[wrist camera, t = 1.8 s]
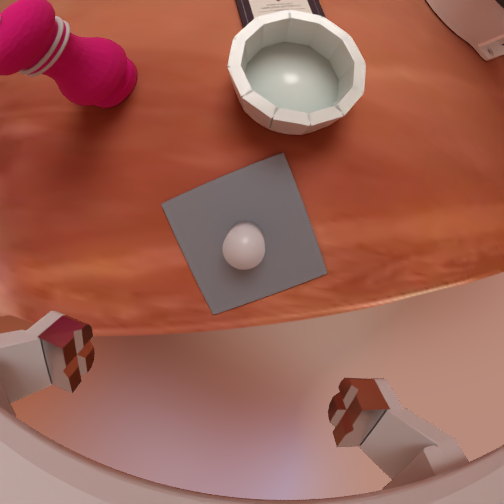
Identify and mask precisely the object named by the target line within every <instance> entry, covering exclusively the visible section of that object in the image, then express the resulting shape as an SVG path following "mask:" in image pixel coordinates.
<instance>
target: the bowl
mask: <svg viewBox="0 0 504 504" xmlns="http://www.w3.org/2000/svg"><path fill="white" fill-rule="evenodd" d="M349 36H350V35H349V34H348V33H346V32H345V31H343V30H342V29H341V28H339V27H338V26H336V25H335V24H334V23H332V22H331V21H329V20H328V19H326V18H325V17H322V16H319V15H315V14H310V13H305V12H300V11H295V10H289V11H288V10H283V11H279V12H274V13H270V14H266V15H262V16H258V17H257V18H255V19H253V20H252V21H251V22H250V23H249V24H248V25H247V26H246V27H244V28H243V29H242V30H241V31H240V32H239V33H238V34H237V35H236V36H235V37H234V39H233V42H232V47H231V52H230V57H229V62H228V71H229V74H230V78H231V81H232V85H233V88H234V90H235V92H236V94H237V97H238V100H239V102H240V104H241V106H242V108H243V110H244V111H245V113H247V114H248V115H249V116H250V117H251V118H252V119H253V120H254V121H255V122H257V123H258V124H260V125H261V126H263V127H265V128H267V129H269V130H272V131H274V132H278V133H282V134H289V135H300V134H301V135H303V134H307V133H311V132H314V131H317V130H319V129H321V128H324V127H328V126H329V125H331V124H332V123H334V122H335V121H337V120H338V119H340V118H342V117H343V116H345V115H346V113H347V112H348V111H349V110H350V109H351V107H352V106H353V105H354V104H355V103H356V102H357V100H358V99H359V98H360V97H361V96H362V94H363V92H364V85H365V69H366V64H365V61H364V59H363V57H362V55H361V53H360V52H359V50H358V48H357V46H356V44H355V43H354V41H353V39H352V37H351V36H350V37H349Z"/></svg>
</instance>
